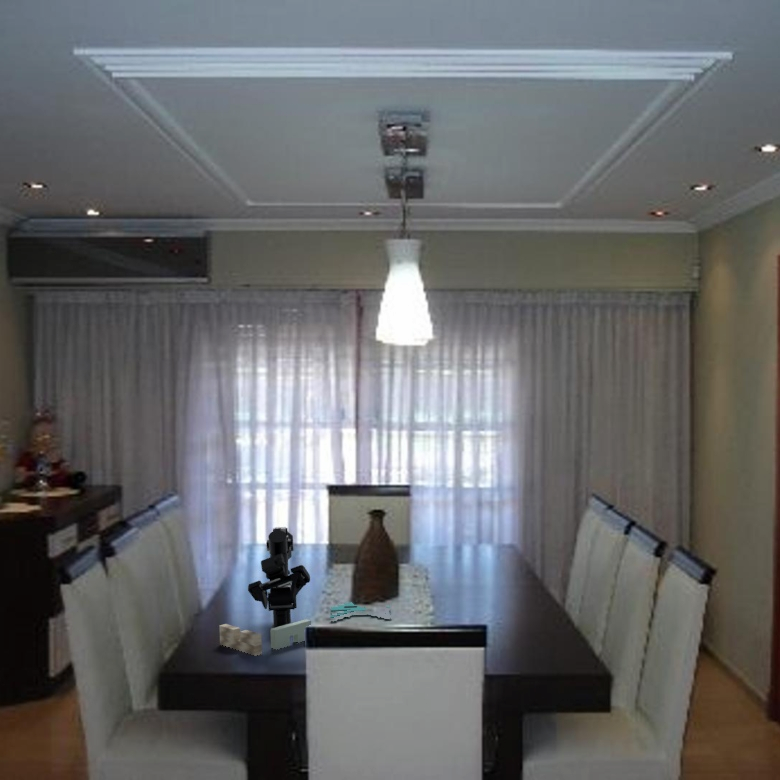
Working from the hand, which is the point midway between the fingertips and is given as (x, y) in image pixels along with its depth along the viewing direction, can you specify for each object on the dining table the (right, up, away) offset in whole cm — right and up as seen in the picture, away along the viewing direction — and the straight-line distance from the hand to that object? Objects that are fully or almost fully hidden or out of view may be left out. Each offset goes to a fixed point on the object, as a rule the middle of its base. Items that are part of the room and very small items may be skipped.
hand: (279, 603), depth 292 cm
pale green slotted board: (+3, -14, +6) cm, 15 cm away
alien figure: (+23, -13, +40) cm, 48 cm away
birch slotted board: (-12, -14, +2) cm, 19 cm away
